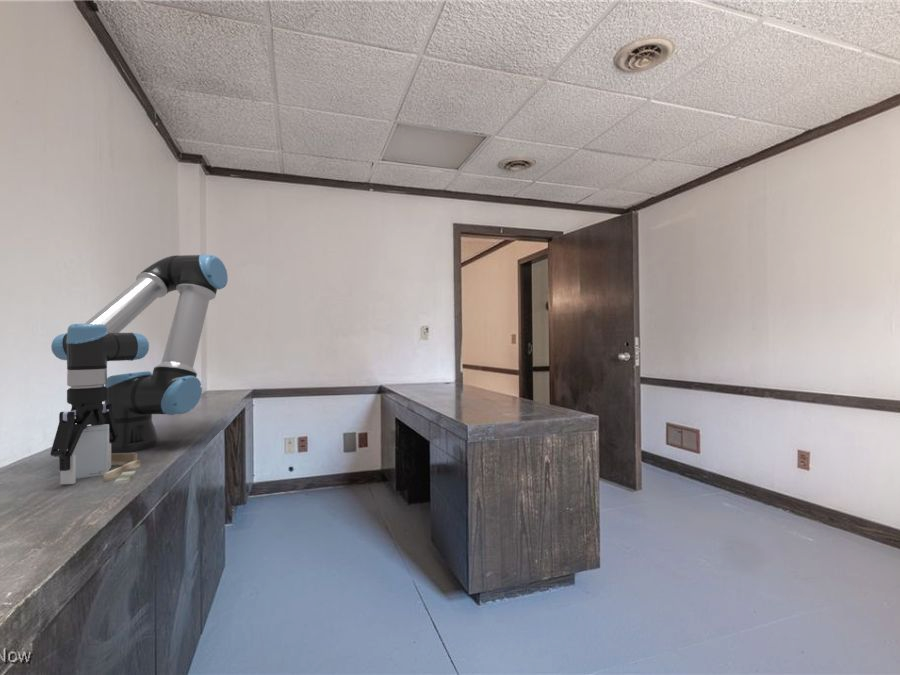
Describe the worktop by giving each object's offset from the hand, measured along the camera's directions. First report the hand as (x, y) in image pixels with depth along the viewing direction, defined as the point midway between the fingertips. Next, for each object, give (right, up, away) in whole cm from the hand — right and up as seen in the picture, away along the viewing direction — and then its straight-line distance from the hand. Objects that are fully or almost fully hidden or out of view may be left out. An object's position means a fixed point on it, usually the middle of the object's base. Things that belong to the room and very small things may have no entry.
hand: (87, 475), depth 104 cm
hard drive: (0, 0, 0) cm, 0 cm away
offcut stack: (+11, -1, -2) cm, 11 cm away
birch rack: (+1, 0, +3) cm, 3 cm away
